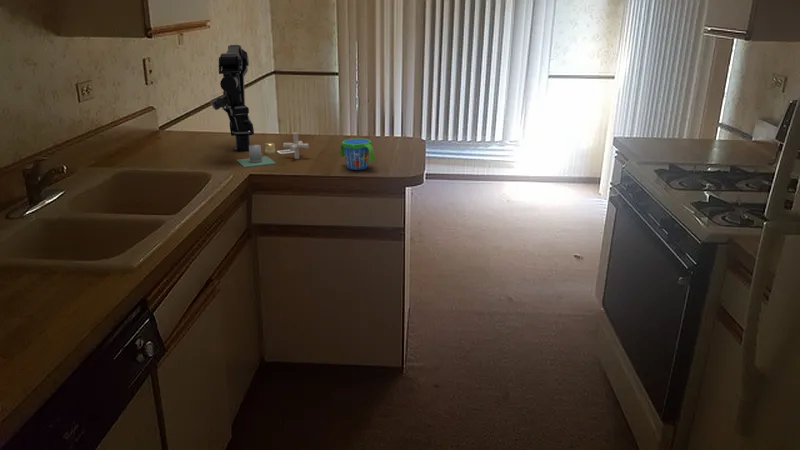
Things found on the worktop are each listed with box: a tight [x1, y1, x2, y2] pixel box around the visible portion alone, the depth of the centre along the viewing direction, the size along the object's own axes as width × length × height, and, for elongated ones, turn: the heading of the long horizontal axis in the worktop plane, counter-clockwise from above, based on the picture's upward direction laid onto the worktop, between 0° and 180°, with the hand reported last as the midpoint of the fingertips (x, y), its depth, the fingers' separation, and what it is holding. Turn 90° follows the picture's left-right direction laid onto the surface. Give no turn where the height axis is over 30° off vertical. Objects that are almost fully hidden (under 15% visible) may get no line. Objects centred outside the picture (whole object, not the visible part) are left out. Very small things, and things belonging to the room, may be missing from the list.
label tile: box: [276, 149, 294, 155], centre depth 254 cm, size 5×8×1 cm, turn 117°
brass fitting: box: [264, 142, 276, 156], centre depth 251 cm, size 4×4×4 cm
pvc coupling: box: [248, 144, 263, 163], centre depth 237 cm, size 5×5×6 cm
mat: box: [236, 156, 277, 169], centre depth 238 cm, size 12×12×1 cm
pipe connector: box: [283, 132, 310, 160], centre depth 242 cm, size 10×10×10 cm
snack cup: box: [339, 137, 376, 171], centre depth 228 cm, size 16×10×10 cm
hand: (236, 128), depth 240 cm, fingers open, 9 cm apart
